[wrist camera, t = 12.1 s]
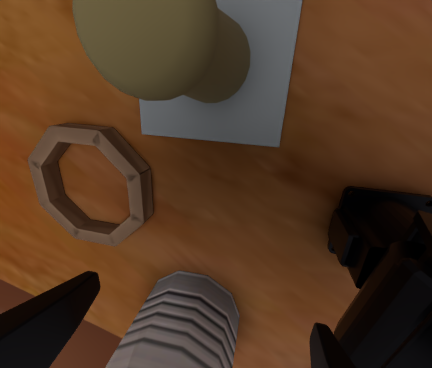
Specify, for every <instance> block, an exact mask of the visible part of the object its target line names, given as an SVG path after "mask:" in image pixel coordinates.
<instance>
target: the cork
mask: <svg viewBox="0 0 432 368" xmlns="http://www.w3.org/2000/svg"><path fill="white" fill-rule="evenodd" d="M73 15H74V20H75V25H76V30H77V34H78V37H79V39H80V41H81V43H82V46H83V48H84V50H85V52H86V55H87V56H88V58H89V59H90V60H91V62H92V63H93V64H94V66H95V67H96V68H97V70H98V71H99V72H100V74H101V75H102V76H103V77H104V79H105V80H107V81H108V82H109V83H111V84H112V85H113V86H115V87H116V88H117V89H119V90H120V91H121V92H124V93H126V94H128V95H131V96H134V97H137V98H139V99H142V100H145V101H165V100H171V99H174V98H176V97H179V96H181V95H185V96H187V97H190V98H192V99H195V100H198V101H200V102H203V103H218V102H221V101H224V100H227V99H229V98H230V97H231V96H232V95H234V94H235V93H236V92H237V91H238V90H239V89H240V87H241V86H242V84H243V83H244V81H245V80H246V77H247V74H248V71H249V68H250V52H251V51H250V47H249V43H248V39H247V36H246V35H245V33H244V31H243V30H242V28H241V27H240V25H239V24H238V23H237V22H236V21H234V20H233V19H232V18H231V17H229V16H228V15H227V14H225V13H224V12H223V11H221V10H220V9H219V8H218V7H217V3H216V0H73Z"/></svg>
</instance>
